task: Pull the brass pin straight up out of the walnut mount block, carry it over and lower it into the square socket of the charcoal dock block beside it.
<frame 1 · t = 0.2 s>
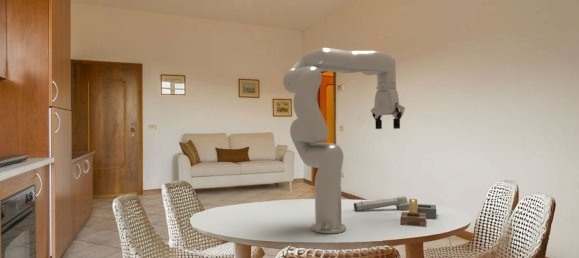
hand: (387, 128, 153), 37 cm above the table, tool pointing down, fingers open, 9 cm apart
toothbrush head: (382, 211, 166), on the table
walnut mount: (413, 222, 142), on the table
charcoal dock: (424, 216, 153), on the table
brass pin: (413, 211, 142), in the walnut mount
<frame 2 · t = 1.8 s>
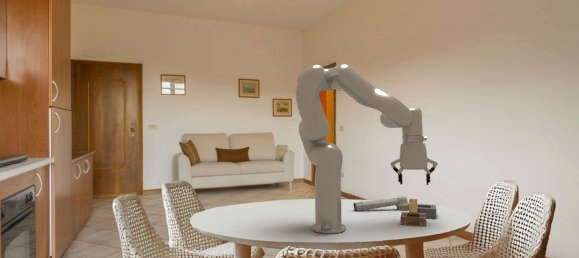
hand: (414, 184, 143), 15 cm above the table, tool pointing down, fingers open, 9 cm apart
nothing on the table moved.
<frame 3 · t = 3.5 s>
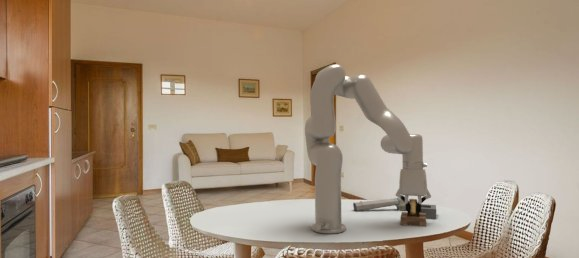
hand: (413, 213, 142), 4 cm above the table, tool pointing down, fingers closed on brass pin, 3 cm apart
brass pin: (413, 211, 142), in the walnut mount, touching gripper
everything else where it was.
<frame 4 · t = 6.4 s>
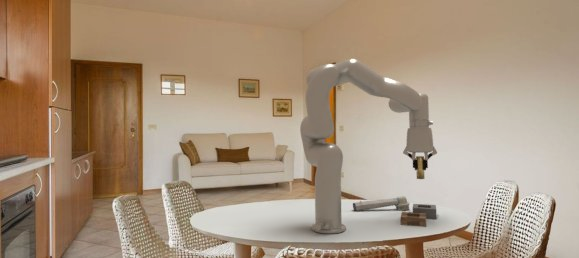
hand: (420, 169, 149), 20 cm above the table, tool pointing down, fingers closed on brass pin, 3 cm apart
brass pin: (420, 167, 149), point 21 cm above the table, touching gripper
everything else where it was.
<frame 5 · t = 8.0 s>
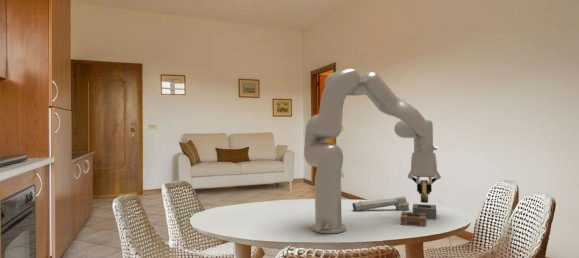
hand: (424, 193, 153), 9 cm above the table, tool pointing down, fingers closed on brass pin, 3 cm apart
brass pin: (424, 191, 153), point 10 cm above the table, touching gripper
everything else where it was.
when the fingers open (5 cm above the table, at t = 9.2 s): brass pin stays where it is, resting in charcoal dock.
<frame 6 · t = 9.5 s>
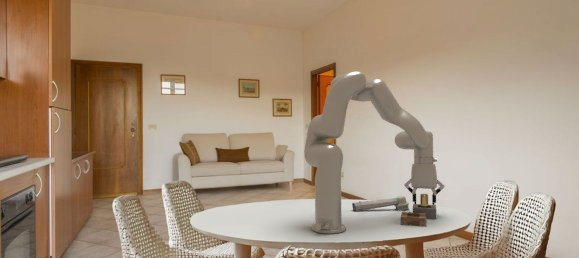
hand: (424, 203, 153), 5 cm above the table, tool pointing down, fingers open, 6 cm apart
brass pin: (424, 205, 153), in the charcoal dock
everything else where it was.
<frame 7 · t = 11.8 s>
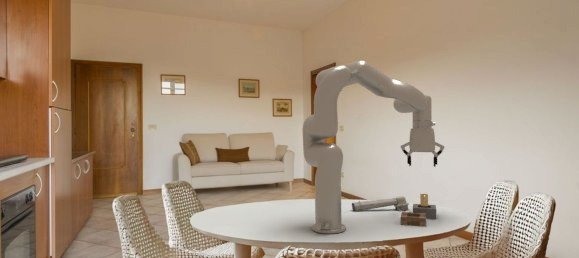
hand: (422, 166, 154), 21 cm above the table, tool pointing down, fingers open, 9 cm apart
nothing on the table moved.
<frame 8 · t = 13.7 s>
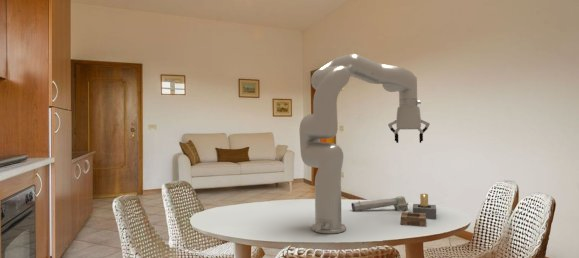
hand: (408, 142, 161), 30 cm above the table, tool pointing down, fingers open, 9 cm apart
at the end: brass pin 0.0 cm off-centre on the charcoal dock, point 4.5 cm above the charcoal dock's base; brass pin tilted 0°; the gripper is holding nothing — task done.
